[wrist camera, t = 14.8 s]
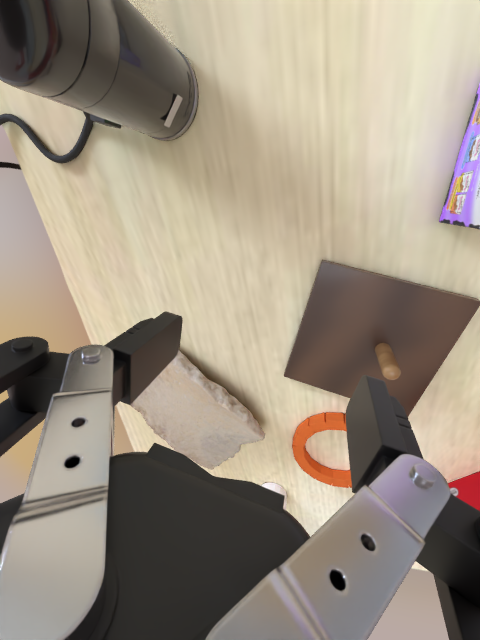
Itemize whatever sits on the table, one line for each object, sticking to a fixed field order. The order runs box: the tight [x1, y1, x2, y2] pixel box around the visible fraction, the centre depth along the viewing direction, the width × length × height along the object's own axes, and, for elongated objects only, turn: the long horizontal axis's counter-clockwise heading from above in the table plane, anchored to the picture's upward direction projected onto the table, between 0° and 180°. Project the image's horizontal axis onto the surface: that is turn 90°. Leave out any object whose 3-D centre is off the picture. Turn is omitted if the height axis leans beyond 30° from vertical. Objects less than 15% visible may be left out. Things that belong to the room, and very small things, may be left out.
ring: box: [292, 412, 352, 488], centre depth 47 cm, size 15×15×2 cm
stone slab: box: [131, 350, 265, 469], centre depth 50 cm, size 24×8×20 cm
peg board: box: [284, 260, 480, 417], centre depth 36 cm, size 19×19×8 cm
